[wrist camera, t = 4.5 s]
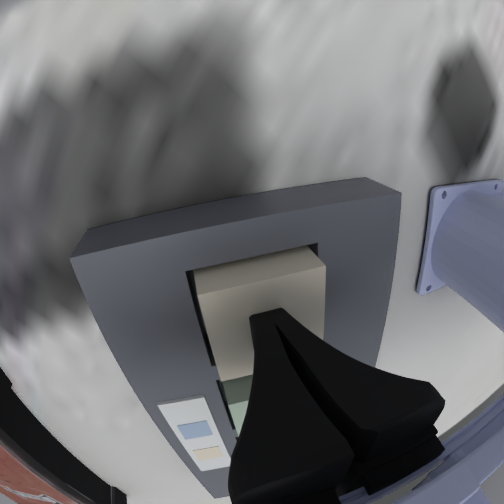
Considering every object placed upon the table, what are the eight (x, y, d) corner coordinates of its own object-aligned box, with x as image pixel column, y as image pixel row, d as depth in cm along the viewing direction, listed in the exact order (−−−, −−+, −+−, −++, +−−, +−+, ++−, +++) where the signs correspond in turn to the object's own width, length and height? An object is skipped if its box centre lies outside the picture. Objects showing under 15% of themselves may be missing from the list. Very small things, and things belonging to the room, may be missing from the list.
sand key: (304, 242, 13) (325, 265, 11) (306, 327, 15) (322, 354, 13) (192, 266, 12) (197, 294, 10) (214, 350, 14) (221, 381, 13)
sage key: (306, 351, 16) (322, 378, 14) (305, 399, 18) (317, 424, 16) (220, 374, 15) (228, 405, 13) (234, 419, 17) (241, 446, 15)
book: (-101, 350, 11) (-119, 382, 7) (-9, 346, 14) (-33, 399, 10) (24, 482, 23) (21, 509, 18) (126, 491, 26) (128, 524, 21)
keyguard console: (365, 177, 15) (405, 194, 12) (333, 441, 28) (345, 463, 25) (87, 229, 13) (67, 261, 10) (209, 475, 25) (214, 500, 22)
